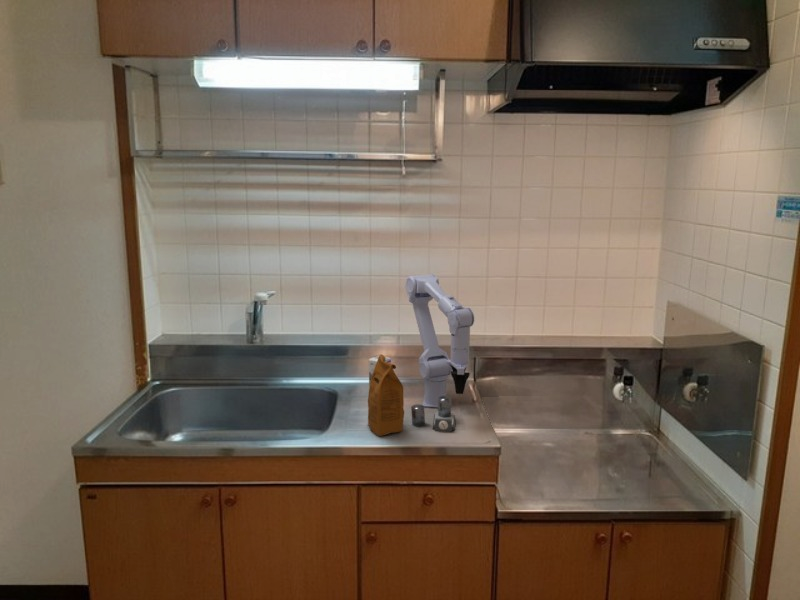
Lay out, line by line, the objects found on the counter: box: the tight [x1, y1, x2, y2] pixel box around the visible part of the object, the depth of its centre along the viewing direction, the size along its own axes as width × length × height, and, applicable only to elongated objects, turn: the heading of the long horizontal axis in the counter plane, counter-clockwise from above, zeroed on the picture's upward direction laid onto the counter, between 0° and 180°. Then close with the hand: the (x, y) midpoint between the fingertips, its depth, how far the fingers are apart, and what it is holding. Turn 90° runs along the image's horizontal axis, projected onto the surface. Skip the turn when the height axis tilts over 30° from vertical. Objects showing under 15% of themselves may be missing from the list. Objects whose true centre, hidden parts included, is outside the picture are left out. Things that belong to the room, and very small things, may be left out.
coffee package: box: [367, 354, 405, 437], centre depth 176 cm, size 10×12×22 cm
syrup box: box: [368, 355, 392, 388], centre depth 201 cm, size 6×6×14 cm
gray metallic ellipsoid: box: [437, 395, 452, 418], centre depth 183 cm, size 4×4×6 cm
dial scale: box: [432, 411, 456, 433], centre depth 181 cm, size 11×7×4 cm, turn 173°
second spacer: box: [410, 404, 426, 427], centre depth 181 cm, size 4×4×6 cm
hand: (459, 389), depth 183 cm, fingers open, 7 cm apart
